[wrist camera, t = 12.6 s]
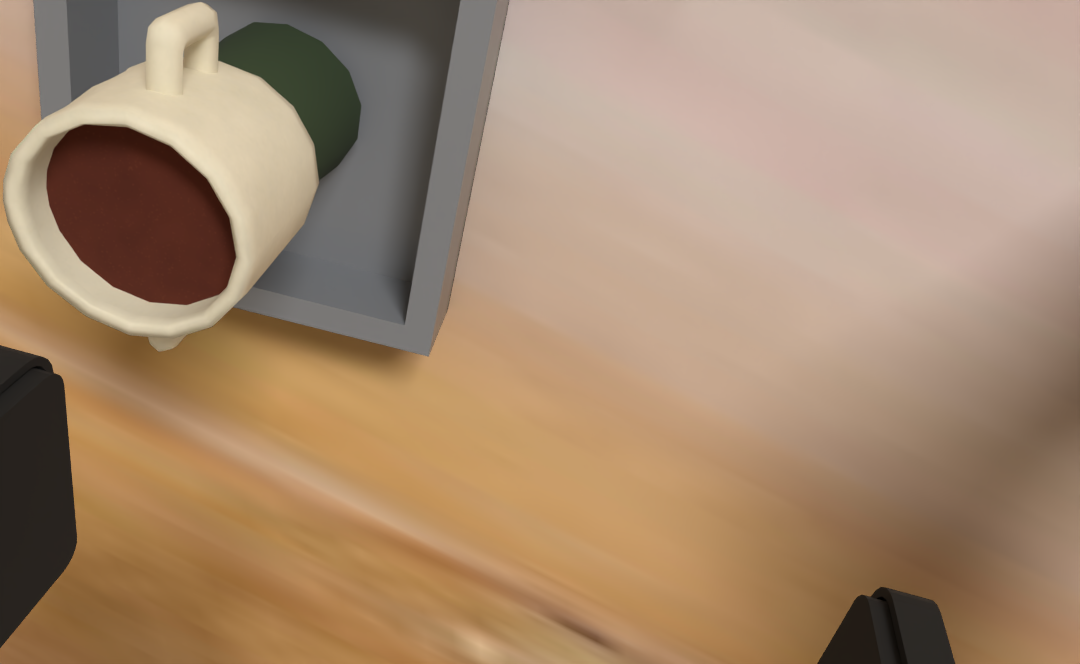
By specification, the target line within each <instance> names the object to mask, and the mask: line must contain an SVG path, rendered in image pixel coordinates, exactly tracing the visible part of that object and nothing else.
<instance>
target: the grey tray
mask: <svg viewBox="0 0 1080 664" xmlns="http://www.w3.org/2000/svg"><path fill="white" fill-rule="evenodd" d="M198 2H202V3H205V4H208V5H209V6H210V7H211V8H212V9H213V10H215V11H216V12H217V17H218V26H219V42H220V41H221V40H223V39H224V38H225V37H227V36H229V35H230V34H232V33H234V32H236V31H238V30H240V29H242V28H243V27H245V26H247V25H249V24H251V23H253V22H262V23H277V24H288V25H290V26H292V27H294V28H296V29H298V30H300V31H302V32H304V33H306V34H308V35H310V36H312V37H314V38H316V39H318V40H320V41H322V42H323V43H324V44H325V45H326V46H327V47H328V48H329V50H330V51H331V52H332V53H333V54H334V55H335V56H336V57H337V58H338V59H339V60H340V62H341V63H342V64H343V65H344V66H345V67H346V68H347V69H348V70H349V72H350V75H351V78H352V80H353V83H354V86H355V89H356V92H357V94H358V97H359V100H360V103H361V105H362V106H361V114H360V122H359V130H358V139H357V140H356V142H355V143H354V145H353V146H352V147H351V149H350V150H349V152H348V153H347V154H346V156H345V157H344V158H343V160H342V161H341V163H340V164H339V165H338V166H337V167H336V168H335V169H333V170H332V171H331V172H329V173H328V174H327V175H326V176H324V177H323V178H322V179H320V180H319V185H318V188H317V190H316V193H315V196H314V199H313V201H312V204H311V207H310V210H309V212H308V215H307V218H306V220H305V223H304V225H303V226H302V227H301V228H300V230H299V231H298V232H297V233H296V234H295V236H294V237H293V238H292V239H291V241H290V242H289V243H288V244H287V245H286V247H285V248H284V249H283V250H282V251H281V253H280V254H279V255H278V256H277V258H276V259H275V260H274V261H273V262H272V264H271V265H270V266H269V267H268V268H267V270H266V271H265V272H264V273H263V275H262V276H261V277H260V278H259V279H258V281H257V282H256V283H255V284H254V285H253V287H252V288H251V289H250V290H249V291H248V293H247V294H246V295H245V296H244V297H243V298H242V299H241V300H240V301H238V302H237V303H236V304H235V305H234V306H233V307H234V308H238V309H242V310H246V311H250V312H254V313H258V314H262V315H266V316H270V317H274V318H278V319H282V320H286V321H290V322H294V323H298V324H302V325H306V326H310V327H314V328H318V329H322V330H326V331H330V332H334V333H337V334H341V335H345V336H349V337H353V338H357V339H361V340H365V341H369V342H373V343H377V344H381V345H385V346H389V347H393V348H397V349H401V350H405V351H409V352H413V353H417V354H421V355H425V356H429V354H430V352H431V350H432V347H433V345H434V342H435V340H436V337H437V335H438V332H439V330H440V327H441V325H442V323H443V320H444V318H445V315H446V313H447V310H448V306H449V301H450V296H451V291H452V286H453V281H454V276H455V271H456V266H457V261H458V256H459V251H460V246H461V241H462V236H463V231H464V226H465V221H466V216H467V210H468V205H469V200H470V195H471V190H472V185H473V180H474V175H475V170H476V165H477V160H478V155H479V150H480V145H481V140H482V135H483V130H484V125H485V120H486V115H487V110H488V105H489V100H490V95H491V90H492V85H493V80H494V75H495V70H496V65H497V60H498V55H499V50H500V45H501V40H502V35H503V30H504V25H505V20H506V15H507V10H508V5H509V0H33V3H34V18H35V32H36V47H37V61H38V76H39V91H40V105H41V120H42V119H44V118H45V117H46V116H48V115H50V114H52V113H54V112H56V111H58V110H60V109H62V108H64V107H66V106H67V105H69V104H70V103H71V102H73V101H74V100H75V99H77V98H78V97H79V96H81V95H82V94H83V93H85V92H86V91H87V90H89V89H90V88H91V87H93V86H95V85H98V84H100V83H102V82H104V81H107V80H109V79H111V78H113V77H115V76H117V75H119V74H121V73H123V72H125V71H126V70H127V69H128V68H130V67H132V66H135V65H137V64H140V63H142V62H145V61H146V38H147V32H148V27H149V25H150V24H151V23H152V22H153V21H154V20H155V19H156V18H158V17H160V16H162V15H165V14H167V13H169V12H171V11H173V10H176V9H178V8H180V7H183V6H185V5H187V4H192V3H198ZM183 57H184V53H183Z"/></svg>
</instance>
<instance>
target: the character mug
mask: <svg viewBox="0 0 1080 664" xmlns="http://www.w3.org/2000/svg"><path fill="white" fill-rule="evenodd" d="M183 53H184V57H183ZM361 106H362V105H361V103H360V100H359V97H358V94H357V92H356V89H355V86H354V83H353V80H352V78H351V75H350V72H349V70H348V69H347V68H346V67H345V66H344V65H343V64H342V63H341V62H340V60H339V59H338V58H337V57H336V56H335V55H334V54H333V53H332V52H331V51H330V50H329V48H328V47H327V46H326V45H325V44H324V43H323V42H322V41H320V40H318V39H316V38H314V37H312V36H310V35H308V34H306V33H304V32H302V31H300V30H298V29H296V28H294V27H292V26H290V25H288V24H277V23H262V22H253V23H251V24H249V25H247V26H245V27H243V28H242V29H240V30H238V31H236V32H234V33H232V34H230V35H229V36H227V37H225V38H224V39H223V40H221V41H220V42H219V26H218V17H217V12H216V11H215V10H213V9H212V8H211V7H210V6H209V5H208V4H205V3H202V2H198V3H192V4H187V5H185V6H183V7H180V8H178V9H176V10H173V11H171V12H169V13H167V14H165V15H162V16H160V17H158V18H156V19H155V20H154V21H153V22H152V23H151V24H150V25H149V27H148V32H147V38H146V61H145V62H142V63H140V64H137V65H135V66H132V67H130V68H128V69H127V70H126V71H125V72H123V73H121V74H119V75H117V76H115V77H113V78H111V79H109V80H107V81H104V82H102V83H100V84H98V85H95V86H93V87H91V88H90V89H89V90H87V91H86V92H85V93H83V94H82V95H81V96H79V97H78V98H77V99H75V100H74V101H73V102H71V103H70V104H69V105H67V106H66V107H64V108H62V109H60V110H58V111H56V112H54V113H52V114H50V115H48V116H46V117H45V118H44V119H42V120H41V121H40V122H39V123H38V124H37V125H35V127H34V128H33V129H32V130H31V131H30V132H29V133H28V135H27V136H26V137H25V138H24V139H23V140H22V141H21V143H20V144H19V145H18V146H17V147H16V148H15V149H14V151H13V152H12V153H11V156H10V159H9V163H8V166H7V169H6V173H5V176H4V181H3V203H4V207H5V212H6V216H7V221H8V223H9V226H10V228H11V230H12V233H13V235H14V237H15V240H16V242H17V244H18V247H19V249H20V251H21V252H22V254H23V255H24V256H25V257H26V259H27V260H28V261H29V263H30V264H31V265H32V267H33V268H34V269H35V270H36V272H37V273H38V274H39V276H40V277H41V278H42V280H43V281H44V282H45V283H46V285H47V286H48V287H49V288H51V289H52V290H53V291H54V292H56V293H57V294H58V295H60V296H61V297H62V298H63V299H65V300H66V301H67V302H68V303H70V304H71V305H72V306H74V307H75V308H76V309H77V310H79V311H80V312H81V313H82V314H84V315H85V316H87V317H89V318H91V319H94V320H96V321H98V322H100V323H103V324H105V325H107V326H110V327H112V328H114V329H117V330H119V331H121V332H124V333H126V334H128V335H133V336H146V337H148V338H149V342H150V344H151V345H152V346H153V347H154V348H155V349H156V350H157V351H158V352H160V351H165V350H169V349H172V348H174V347H176V346H177V345H178V344H179V343H180V342H181V341H182V340H183V338H184V337H185V336H186V335H187V334H190V333H194V332H197V331H200V330H203V329H206V328H210V327H212V326H213V325H214V324H216V323H217V322H218V321H219V320H220V319H221V318H222V317H223V316H224V315H225V314H226V313H227V312H228V311H229V310H230V309H231V308H232V307H233V306H234V305H235V304H236V303H237V302H238V301H240V300H241V299H242V298H243V297H244V296H245V295H246V294H247V293H248V291H249V290H250V289H251V288H252V287H253V285H254V284H255V283H256V282H257V281H258V279H259V278H260V277H261V276H262V275H263V273H264V272H265V271H266V270H267V268H268V267H269V266H270V265H271V264H272V262H273V261H274V260H275V259H276V258H277V256H278V255H279V254H280V253H281V251H282V250H283V249H284V248H285V247H286V245H287V244H288V243H289V242H290V241H291V239H292V238H293V237H294V236H295V234H296V233H297V232H298V231H299V230H300V228H301V227H302V226H303V225H304V223H305V220H306V218H307V215H308V212H309V210H310V207H311V204H312V201H313V199H314V196H315V193H316V190H317V188H318V185H319V180H320V179H322V178H323V177H324V176H326V175H327V174H328V173H329V172H331V171H332V170H333V169H335V168H336V167H337V166H338V165H339V164H340V163H341V161H342V160H343V158H344V157H345V156H346V154H347V153H348V152H349V150H350V149H351V147H352V146H353V145H354V143H355V142H356V140H357V139H358V130H359V122H360V114H361Z"/></svg>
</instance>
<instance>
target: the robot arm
mask: <svg viewBox="0 0 1080 664" xmlns="http://www.w3.org/2000/svg"><path fill="white" fill-rule="evenodd" d="M76 543H77V532H76V520H75V509H74V497H73V485H72V473H71V461H70V449H69V437H68V425H67V413H66V402H65V390H64V383H63V379H62V378H61V376H60V375H58V374H55V373H54V372H53V368H52V364H51V363H50V362H49V360H48V359H46V358H44V357H41V356H37V355H34V354H30V353H26V352H23V351H19V350H15V349H12V348H8V347H4V346H1V345H0V648H1V646H2V645H3V644H4V643H5V642H6V640H7V639H8V638H9V637H10V635H11V634H12V633H13V632H14V631H15V629H16V628H17V627H18V626H19V625H20V623H21V622H22V621H23V620H24V619H25V617H26V616H27V615H28V614H29V612H30V611H31V610H32V609H33V608H34V606H35V605H36V604H37V603H38V602H39V600H40V599H41V598H42V597H43V596H44V594H45V593H46V592H47V591H48V590H49V588H50V587H51V586H52V585H53V583H54V582H55V581H56V580H57V579H58V577H59V576H60V575H61V574H62V573H63V571H64V570H65V569H66V567H67V566H68V564H69V562H70V560H71V559H72V556H73V554H74V551H75V547H76ZM818 664H955V661H954V658H953V654H952V651H951V647H950V644H949V640H948V637H947V633H946V630H945V626H944V623H943V619H942V616H941V613H940V610H939V608H938V606H937V604H936V603H935V602H934V601H933V600H929V599H926V598H922V597H918V596H915V595H911V594H907V593H904V592H900V591H896V590H893V589H889V588H885V587H880V588H879V589H877V590H876V591H875V592H874V593H873V595H872V596H871V597H869V596H865V595H860V596H858V597H857V598H856V600H855V601H854V602H853V604H852V606H851V608H850V609H849V611H848V613H847V614H846V616H845V618H844V619H843V621H842V623H841V625H840V626H839V628H838V630H837V631H836V633H835V635H834V636H833V638H832V640H831V641H830V643H829V645H828V647H827V648H826V650H825V652H824V653H823V655H822V657H821V658H820V660H819V662H818Z"/></svg>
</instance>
